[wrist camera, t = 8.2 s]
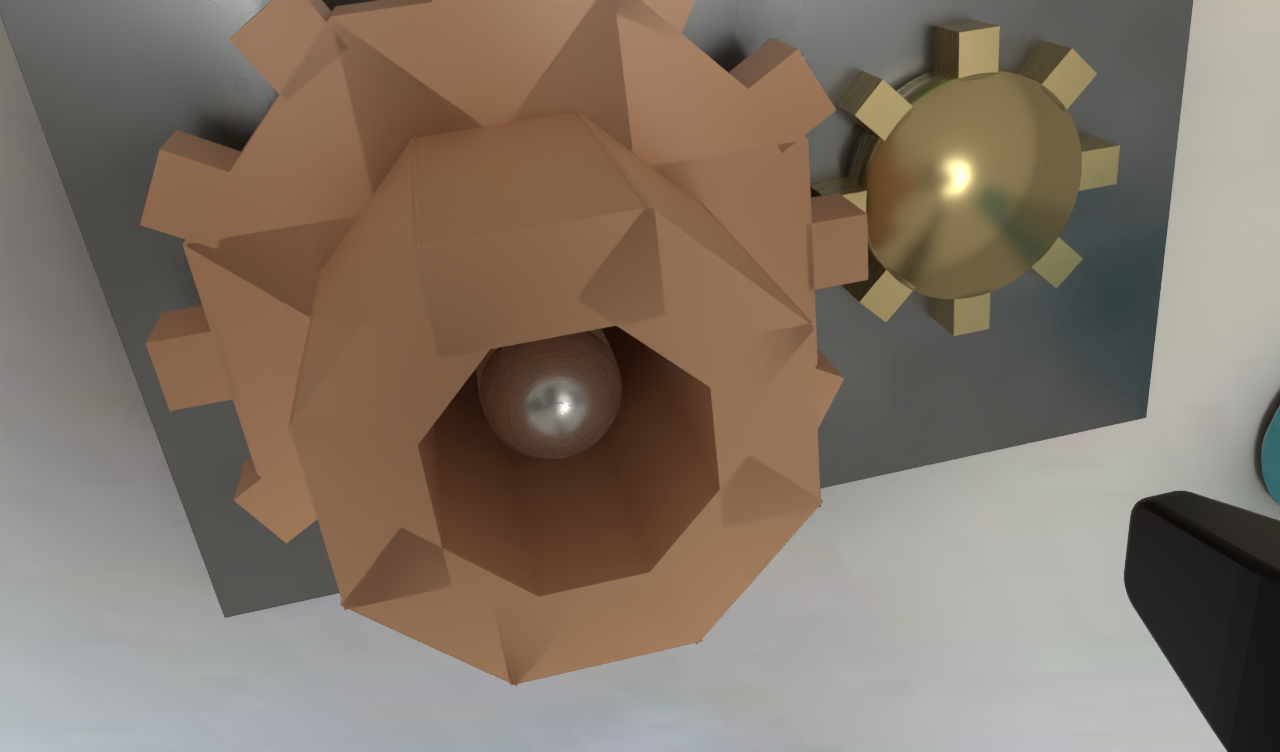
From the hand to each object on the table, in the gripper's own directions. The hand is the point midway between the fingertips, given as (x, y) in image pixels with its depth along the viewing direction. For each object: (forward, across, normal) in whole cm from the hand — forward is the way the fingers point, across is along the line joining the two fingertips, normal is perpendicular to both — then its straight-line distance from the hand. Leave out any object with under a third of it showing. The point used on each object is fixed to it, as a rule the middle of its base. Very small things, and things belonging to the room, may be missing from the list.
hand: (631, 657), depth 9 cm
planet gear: (+9, 0, 0) cm, 9 cm away
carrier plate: (+12, -3, 0) cm, 12 cm away
